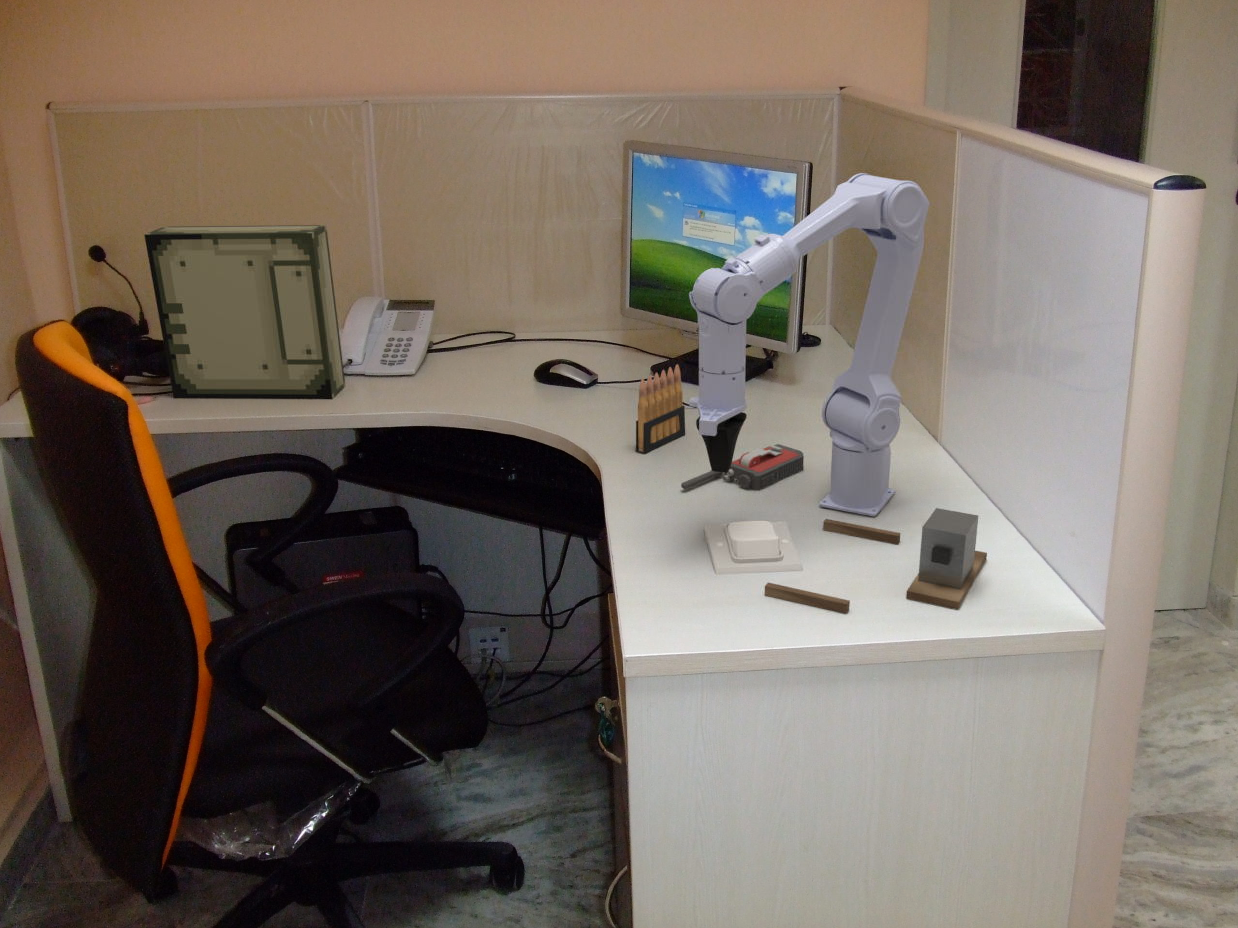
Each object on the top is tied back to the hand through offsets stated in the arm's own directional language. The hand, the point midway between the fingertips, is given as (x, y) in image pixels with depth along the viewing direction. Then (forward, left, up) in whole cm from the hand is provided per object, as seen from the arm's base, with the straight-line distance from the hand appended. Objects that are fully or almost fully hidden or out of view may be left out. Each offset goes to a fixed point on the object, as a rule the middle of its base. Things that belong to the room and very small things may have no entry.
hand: (720, 470), depth 147 cm
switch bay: (+1, +16, -10) cm, 19 cm away
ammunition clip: (-28, -23, -10) cm, 37 cm away
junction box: (0, +29, -9) cm, 30 cm away
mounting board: (-2, +29, -10) cm, 31 cm away
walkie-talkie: (-20, -5, -10) cm, 23 cm away
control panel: (-20, -102, -10) cm, 104 cm away
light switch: (+1, +5, -11) cm, 12 cm away
